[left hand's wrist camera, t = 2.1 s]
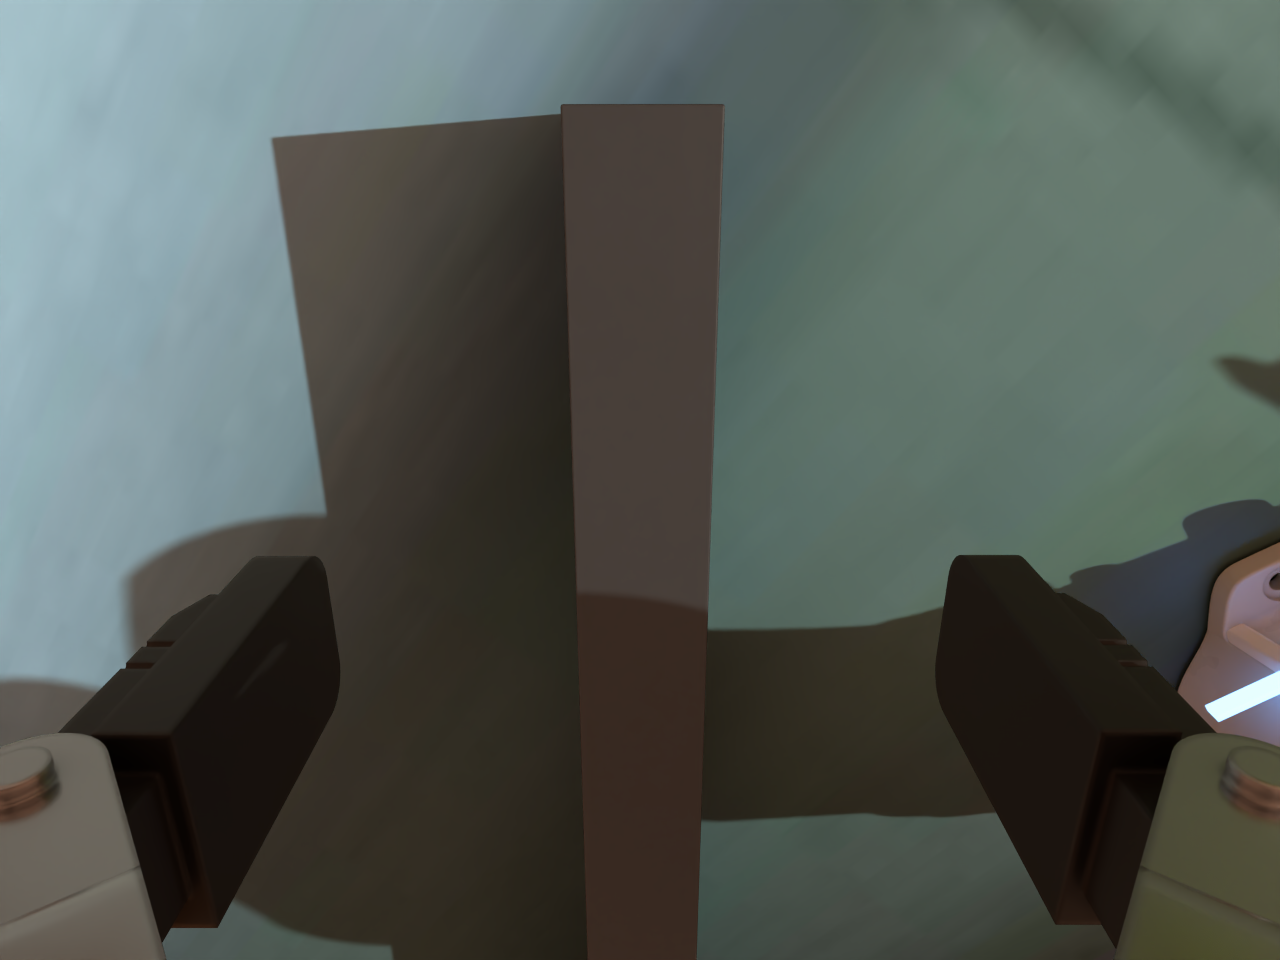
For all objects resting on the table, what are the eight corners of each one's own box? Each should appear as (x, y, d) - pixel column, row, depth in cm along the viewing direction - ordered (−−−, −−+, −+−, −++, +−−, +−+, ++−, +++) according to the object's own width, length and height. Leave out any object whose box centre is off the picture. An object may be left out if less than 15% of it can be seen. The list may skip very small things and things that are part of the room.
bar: (580, 112, 31) (560, 104, 23) (703, 111, 31) (724, 104, 23) (605, 1171, 54) (599, 1345, 46) (677, 1171, 54) (683, 1345, 46)
